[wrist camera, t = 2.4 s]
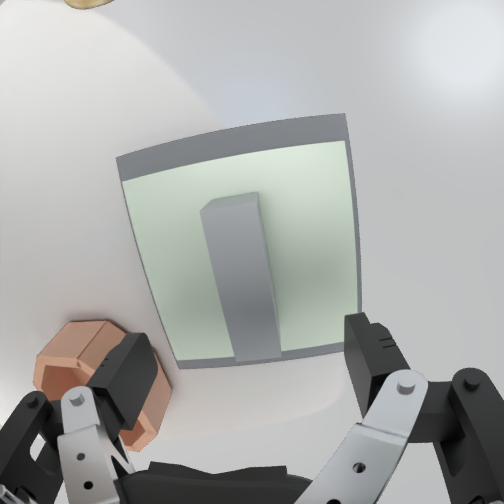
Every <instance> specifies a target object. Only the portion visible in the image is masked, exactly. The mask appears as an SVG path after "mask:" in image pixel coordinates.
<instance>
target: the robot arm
mask: <svg viewBox="0 0 504 504" xmlns="http://www.w3.org/2000/svg"><path fill="white" fill-rule="evenodd" d="M344 356H345V361H346V365H347V368H348V371H349V374H350V378H351V381H352V384H353V387H354V391H355V394H356V397H357V401H358V404H359V407H360V411H361V414H362V418H363V421H362V422H361V423H356V424H355V425H354V426H353V427H352V428H351V430H350V431H349V433H348V434H347V436H346V437H345V439H344V440H343V442H342V443H341V445H340V446H339V447H338V449H337V450H336V452H335V453H334V454H333V456H332V457H331V459H330V460H329V461H328V463H327V464H326V465H325V467H324V468H323V469H322V470H321V472H320V473H319V474H318V476H317V477H316V478H315V479H314V481H313V480H310V479H307V478H304V477H300V476H296V475H289V474H287V468H286V466H272V467H250V468H245V469H240V470H235V471H231V472H225V473H219V474H210V473H206V472H203V471H199V470H196V469H192V468H189V467H186V466H183V465H177V464H167V463H160V462H152V461H151V462H150V465H149V468H148V470H143V471H138V472H136V471H135V469H134V467H133V465H132V462H131V460H130V458H129V455H128V453H127V450H126V448H125V445H124V443H123V440H122V438H121V436H120V435H119V432H120V430H121V429H122V430H129V431H132V430H133V428H134V426H135V424H136V421H137V419H138V417H139V414H140V412H141V410H142V408H143V405H144V403H145V401H146V399H147V397H148V394H149V392H150V390H151V388H152V385H153V383H154V381H155V379H156V377H157V374H158V364H157V360H156V358H155V355H154V353H153V350H152V348H151V345H150V342H149V340H148V337H147V335H146V334H145V333H127V334H126V335H125V337H124V338H123V339H122V341H121V342H120V344H118V345H116V346H115V347H114V348H113V349H111V350H110V351H109V352H108V354H107V355H106V356H105V358H104V360H103V361H102V362H101V363H100V367H99V366H98V368H97V369H96V371H95V372H94V374H93V375H92V376H91V378H90V379H89V381H88V382H87V384H86V385H85V386H78V387H74V388H72V389H70V390H69V391H67V392H66V393H65V394H64V395H63V397H62V399H61V400H53V401H49V399H48V398H47V396H46V395H45V393H44V392H42V391H33V392H30V393H29V394H27V395H26V396H25V397H23V399H22V400H21V401H20V403H19V404H18V406H17V407H16V408H15V410H14V411H13V413H12V414H11V415H10V417H9V418H8V420H7V421H6V423H5V424H4V426H3V427H2V429H1V430H0V504H54V502H55V499H56V497H57V494H58V492H59V490H60V487H61V485H62V483H63V480H64V483H65V487H66V492H67V497H68V500H69V504H377V502H378V500H379V499H380V497H381V495H382V493H383V491H384V490H385V488H386V486H387V484H388V482H389V481H390V478H391V477H392V475H393V473H394V471H395V469H396V467H397V465H398V463H399V461H400V459H401V457H402V455H403V453H404V451H405V449H406V446H407V444H408V443H429V442H433V445H434V448H435V451H436V454H437V457H438V461H439V464H440V466H441V470H442V473H443V476H444V480H445V483H446V487H447V490H448V494H449V497H450V501H451V504H504V400H503V399H502V397H501V395H500V394H499V392H498V391H497V389H496V387H495V386H494V384H493V383H492V381H491V380H490V378H489V377H488V376H487V374H486V373H484V372H483V371H481V370H479V369H476V368H465V369H461V370H459V371H458V372H457V373H456V374H455V375H454V377H453V379H452V381H449V382H430V381H427V379H426V378H425V377H424V376H423V375H422V374H421V373H419V372H417V371H414V370H411V369H410V367H409V365H408V364H407V362H406V360H405V358H404V357H403V355H402V353H401V351H400V349H399V348H398V346H396V342H395V341H394V339H392V336H391V334H390V332H389V331H388V329H387V328H386V327H384V326H382V325H381V324H380V323H373V324H370V322H369V320H368V318H367V317H366V315H365V313H364V312H361V313H355V314H349V315H345V317H344ZM38 433H39V434H40V435H41V437H42V438H43V439H44V440H45V441H46V443H45V445H44V446H43V448H42V450H41V452H40V454H39V456H38V458H37V459H36V461H34V460H33V459H32V457H31V455H30V447H31V445H32V443H33V442H34V440H35V438H36V437H37V435H38Z"/></svg>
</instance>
